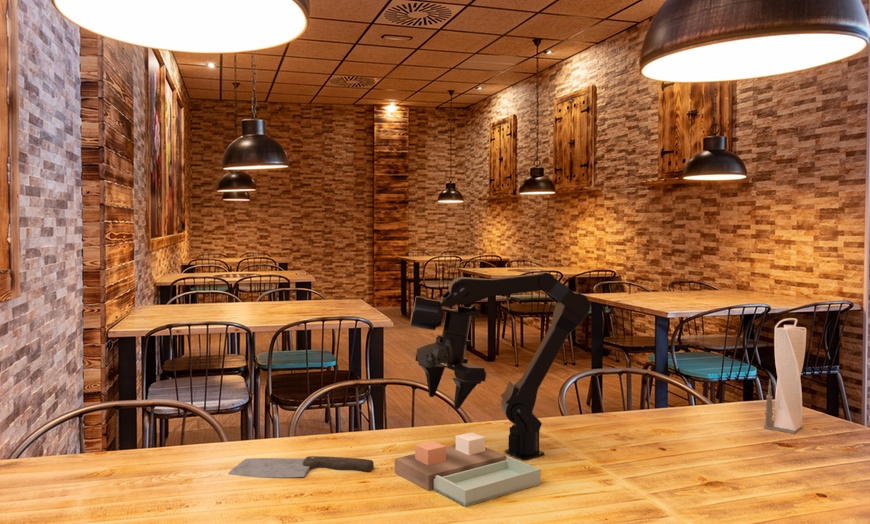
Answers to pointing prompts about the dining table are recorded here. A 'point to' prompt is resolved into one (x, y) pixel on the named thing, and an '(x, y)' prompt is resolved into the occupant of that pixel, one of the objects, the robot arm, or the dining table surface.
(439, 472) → the plate
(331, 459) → the cleaver
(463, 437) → the pale pink cube
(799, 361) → the skyscraper
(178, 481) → the dining table surface
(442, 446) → the salmon pink cube
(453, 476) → the tray
